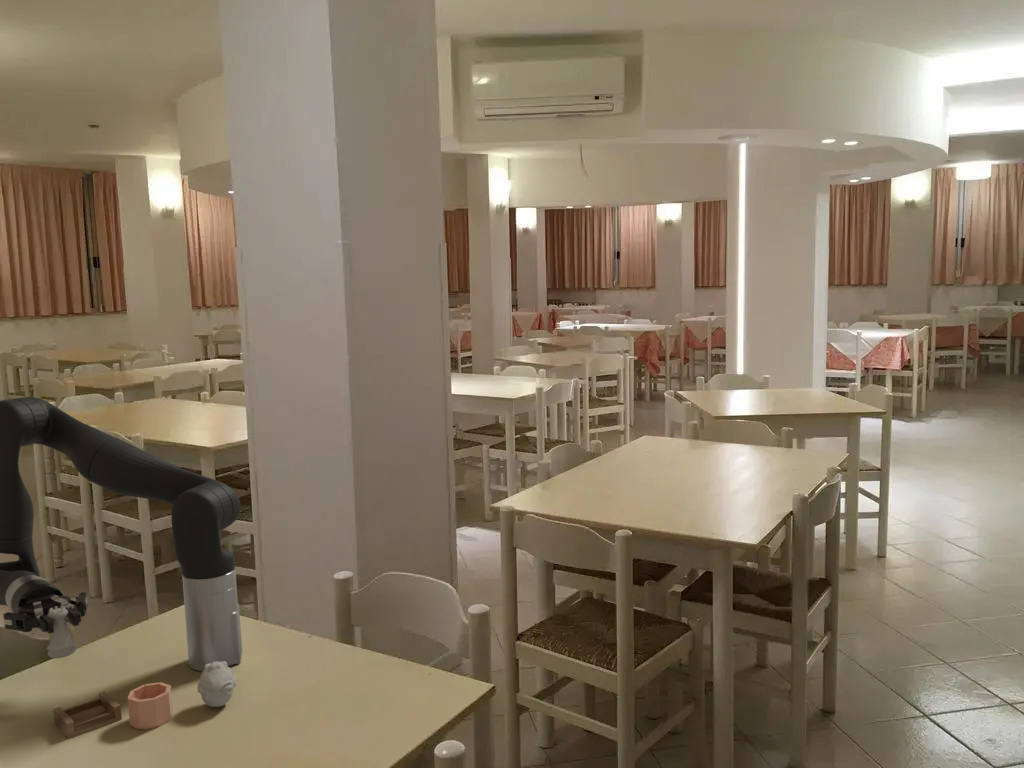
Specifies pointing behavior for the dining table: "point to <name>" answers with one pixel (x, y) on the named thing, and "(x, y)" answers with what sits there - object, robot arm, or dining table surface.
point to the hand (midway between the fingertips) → (63, 623)
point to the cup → (150, 705)
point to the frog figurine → (216, 684)
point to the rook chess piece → (60, 634)
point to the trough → (87, 715)
